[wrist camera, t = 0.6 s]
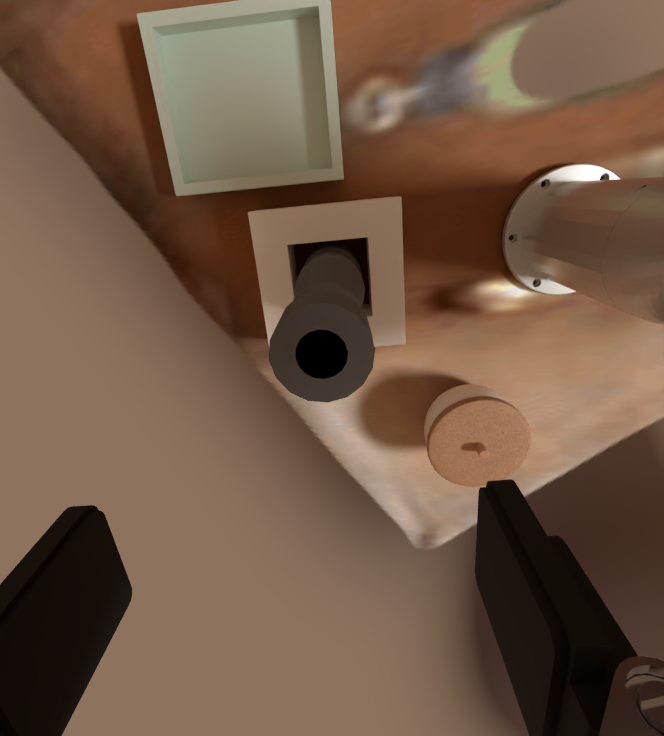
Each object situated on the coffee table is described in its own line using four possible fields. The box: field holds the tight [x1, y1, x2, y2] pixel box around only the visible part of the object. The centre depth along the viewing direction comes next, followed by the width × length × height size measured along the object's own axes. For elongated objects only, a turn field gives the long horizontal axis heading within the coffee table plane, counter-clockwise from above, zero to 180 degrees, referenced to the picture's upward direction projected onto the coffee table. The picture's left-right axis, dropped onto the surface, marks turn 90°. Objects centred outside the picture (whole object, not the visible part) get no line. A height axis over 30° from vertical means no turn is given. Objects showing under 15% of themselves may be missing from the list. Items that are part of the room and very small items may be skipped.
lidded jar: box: [424, 384, 531, 487], centre depth 47 cm, size 11×11×9 cm
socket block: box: [248, 196, 406, 347], centre depth 43 cm, size 14×14×5 cm
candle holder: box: [269, 243, 375, 402], centre depth 34 cm, size 6×6×25 cm
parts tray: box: [137, 0, 344, 196], centre depth 39 cm, size 16×14×3 cm
